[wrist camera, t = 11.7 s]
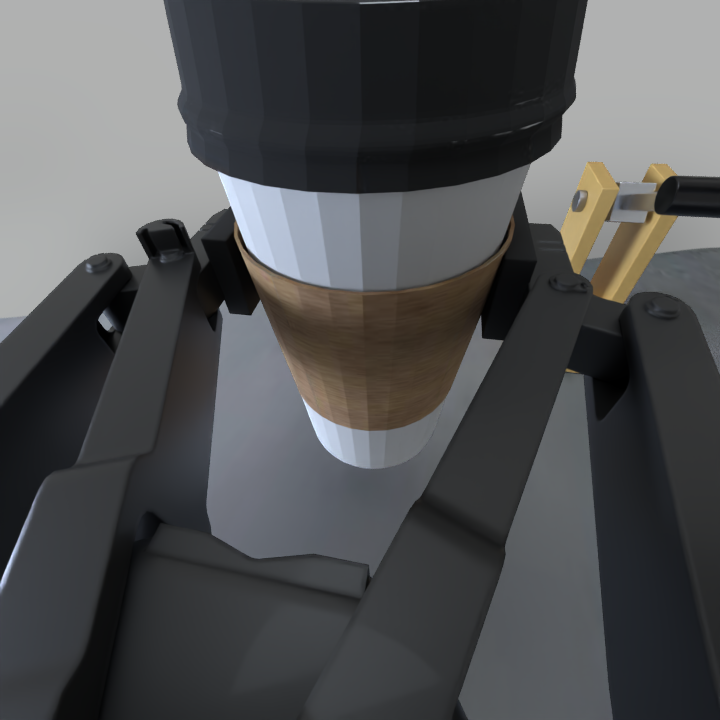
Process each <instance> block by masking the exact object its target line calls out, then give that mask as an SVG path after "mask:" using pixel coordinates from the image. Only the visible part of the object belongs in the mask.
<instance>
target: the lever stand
mask: <svg viewBox="0 0 720 720" xmlns="http://www.w3.org/2000/svg"><path fill="white" fill-rule="evenodd" d="M670 176H678V175H677V174H676V173H675V172H674V171H673V170H672V169H671V168H670V167H669V166H668V165H667V164H651V165H650V167H649V169H648V171H647V173H646V175H645V177H644V179H643V181H642V183H657V186H656V189H655V192H658V190H659V188H660V186H661V185H662V183H663V182H664V181H665V180H666V179H667V178H668V177H670ZM619 190H620V189H619V187H618V186H617V184H616V183H615V181H614V179H613V178H612V176H611V175H610V173H609V172H608V170H607V169H606V167H605V166H604V164H603V163H602V162H587V164H586V167H585V170H584V172H583V175H582V177H581V180H580V182H579V185H578V187H577V190H576V193H575V195H574V198H573V200H572V203H571V206H570V208H569V210H568V213H567V216H566V218H565V221H564V223H563V226H562V229H561V231H560V233H561V236H562V239H563V242H564V243H563V244H564V245H565V247H566V252H567V253H568V256H569V259H570V262H571V265H572V268H573V271H574V273H577V274H580V272H581V270H582V267H583V265H584V263H585V261H586V259H587V257H588V255H589V253H590V251H591V249H592V246H593V244H594V242H595V240H596V238H597V236H598V234H599V232H600V229H601V227H602V225H603V223H604V221H605V219H606V217H607V215H608V213H609V211H610V209H611V206H612V204H613V202H614V200H615V198H616V196H617V194H618V192H619ZM677 217H678V216H670V215H658V214H656V212H648V214H647V217H646V220H645V223H624V222H621V224H620V226H619V228H618V229H617V231H616V233H615V235H614V237H613V239H612V241H611V243H610V245H609V247H608V249H607V251H606V253H605V255H604V257H603V259H602V261H601V263H600V265H599V267H598V268H597V270H596V272H595V274H594V276H593V278H592V280H591V282H590V283H591V284H592V286H593V294H594V295H596V296H598V297H601V298H604V299H607V300H611V301H615V302H618V303H622V304H624V302H625V300H626V299H627V297H628V295H629V294H630V292H631V291H632V289H633V287H634V286H635V284H636V283H637V281H638V279H639V278H640V276H641V275H642V273H643V271H644V270H645V268H646V267H647V265H648V263H649V262H650V260H651V259H652V257H653V255H654V254H655V252H656V251H657V249H658V247H659V246H660V244H661V242H662V241H663V239H664V238H665V236H666V234H667V233H668V231H669V230H670V228H671V226H672V225H673V223H674V222H675V220H676V219H677ZM565 372H573V373H578V372H575V371H572V370H569V369H566V371H565Z"/></svg>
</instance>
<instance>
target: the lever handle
mask: <svg viewBox="0 0 720 720" xmlns="http://www.w3.org/2000/svg"><path fill="white" fill-rule="evenodd" d="M615 183H616V184H617V186H618V187H619V189H620V190H619V192H618V194H617V196H616V198H615V200H614V202H613V204H612V206H611V209H610V211H609V213H608V215H607V217H606V219H605V221H607V222H624V223H645V220H646V217H647V214H648V212H656V214H658V215H670V216H691V217H712V218H720V177H704V176H703V177H702V176H670V177H668V178H667V179H666V180H665V181H664V182H663V183H662V185H661V186H660V188H659V190H658V192H655V189H656V186H657V183H642V182H615Z"/></svg>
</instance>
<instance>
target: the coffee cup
mask: <svg viewBox="0 0 720 720" xmlns="http://www.w3.org/2000/svg"><path fill="white" fill-rule="evenodd" d="M587 1H588V0H164V4H165V9H166V15H167V19H168V24H169V28H170V33H171V38H172V42H173V47H174V52H175V56H176V60H177V66H178V70H179V75H180V80H181V84H182V90H181V93H180V95H179V98H178V104H177V105H178V109H179V111H180V113H181V115H182V118H183V119H184V122H185V123H186V124H187V142H188V144H189V147H190V150H191V153H192V154H193V155H194V156H195V157H196V158H198V159H199V160H200V161H201V162H202V163H203V164H204V165H206V166H208V167H210V168H212V169H214V170H216V171H218V173H219V176H220V178H221V181H222V184H223V186H224V189H225V192H226V194H227V197H228V200H229V202H230V205H231V208H232V210H233V213H234V216H235V218H236V221H235V223H234V238H235V240H236V242H237V245H238V247H239V250H240V252H241V254H242V257H243V259H244V261H245V264H246V266H247V269H248V271H249V273H250V276H251V278H252V280H253V283H254V285H255V288H256V290H257V292H258V295H259V297H260V299H261V302H262V304H263V307H264V309H265V311H266V314H267V316H268V318H269V321H270V323H271V326H272V328H273V330H274V333H275V335H276V337H277V340H278V342H279V345H280V347H281V349H282V352H283V354H284V356H285V359H286V361H287V364H288V366H289V368H290V371H291V373H292V375H293V378H294V380H295V383H296V385H297V387H298V390H299V392H300V394H301V396H302V398H303V401H304V403H305V406H306V409H307V411H308V414H309V417H310V419H311V422H312V425H313V427H314V429H315V432H316V434H317V437H318V439H319V440H320V442H321V443H322V444H323V446H324V447H325V449H327V450H328V451H329V452H330V453H331V454H332V455H333V456H334V457H336V458H338V459H339V460H341V461H343V462H344V463H347V464H350V465H353V466H356V467H361V468H367V469H384V468H388V467H393V466H397V465H399V464H401V463H404V462H406V461H408V460H410V459H411V458H413V457H414V456H415V455H417V454H418V453H419V452H420V451H421V450H422V449H423V448H424V447H425V446H426V445H427V443H428V441H429V439H430V438H431V436H432V434H433V432H434V429H435V426H436V424H437V421H438V418H439V415H440V413H441V410H442V407H443V404H444V402H445V399H446V396H447V394H448V392H449V391H450V389H451V386H452V384H453V381H454V379H455V376H456V374H457V372H458V369H459V367H460V364H461V362H462V359H463V357H464V355H465V352H466V350H467V347H468V345H469V342H470V340H471V338H472V335H473V333H474V330H475V328H476V325H477V323H478V321H479V318H480V316H481V313H482V311H483V308H484V306H485V304H486V301H487V299H488V296H489V294H490V291H491V289H492V286H493V283H494V281H495V278H496V275H497V272H498V269H499V267H500V264H501V261H502V258H503V256H504V253H505V252H506V250H507V249H508V247H509V245H510V243H511V240H512V237H513V232H514V227H515V223H514V218H513V211H514V208H515V205H516V203H517V200H518V197H519V194H520V192H521V189H522V186H523V183H524V181H525V178H526V175H527V172H528V170H529V167H530V164H531V163H532V162H533V161H535V160H537V159H538V158H540V157H541V156H543V155H545V154H546V153H548V152H550V151H551V150H552V149H553V147H554V146H555V145H556V144H557V142H558V141H559V140H560V139H561V132H562V115H563V114H564V113H565V111H566V110H567V109H568V108H569V107H570V106H571V105H572V103H573V102H574V101H575V98H576V84H575V79H574V73H575V68H576V62H577V56H578V50H579V45H580V40H581V34H582V29H583V23H584V18H585V12H586V7H587ZM507 228H508V236H507V240H506V242H505V244H504V245H503V246H502V248H501V249H500V247H501V244H502V241H503V238H504V236H505V233H506V230H507ZM499 249H500V251H499Z"/></svg>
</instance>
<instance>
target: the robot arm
mask: <svg viewBox="0 0 720 720" xmlns="http://www.w3.org/2000/svg"><path fill="white" fill-rule="evenodd" d="M513 218H514V223H515V227H514V232H513V237H512V240H511V243H510V245H509V247H508V249H507V250H506V252H505V253H504V256H503V258H502V261H501V264H500V267H499V269H498V272H497V275H496V278H495V281H494V283H493V286H492V289H491V291H490V294H489V296H488V299H487V301H486V304H485V306H484V308H483V311H482V313H481V322H482V338H485V339H495V340H504V341H503V343H502V345H501V347H500V349H499V351H498V353H497V355H496V357H495V358H494V360H493V362H492V364H491V366H490V368H489V370H488V372H487V374H486V375H485V377H484V379H483V381H482V383H481V385H480V387H479V389H478V391H477V392H476V394H475V396H474V398H473V400H472V402H471V404H470V406H469V408H468V409H467V411H466V413H465V415H464V417H463V419H462V421H461V423H460V425H459V426H458V428H457V430H456V432H455V434H454V436H453V438H452V440H451V442H450V443H449V445H448V447H447V449H446V451H445V453H444V455H443V457H442V458H441V460H440V462H439V464H438V466H437V468H436V470H435V472H434V474H433V475H432V477H431V479H430V481H429V483H428V485H427V487H426V489H425V490H424V492H423V494H422V495H421V497H420V498H419V499H418V500H417V501H415V503H414V504H413V506H412V507H411V508H410V510H409V512H408V514H407V515H406V517H405V519H404V521H403V522H402V524H401V526H400V528H399V530H398V532H397V533H396V535H395V537H394V539H393V541H392V543H391V545H390V546H389V548H388V550H387V552H386V554H385V556H384V558H383V559H382V561H381V563H380V565H379V567H378V569H377V571H376V572H375V574H374V576H373V578H372V577H370V573H369V565H367V564H362V563H357V562H352V561H347V560H342V559H337V558H332V557H327V556H322V555H317V554H307V555H296V556H285V557H274V558H263V559H254V558H251V557H249V556H247V555H246V554H244V553H242V552H240V551H239V550H237V549H235V548H234V547H232V546H230V545H228V544H227V543H225V542H223V541H222V540H220V539H218V538H216V537H215V536H213V535H212V534H211V525H210V522H209V518H208V515H207V509H206V498H207V487H208V476H209V465H210V454H211V443H212V432H213V421H214V410H215V398H216V387H217V376H218V365H219V354H220V343H221V332H222V321H223V318H222V314H221V312H220V310H219V307H220V305H221V304H222V302H223V301H224V300H225V302H226V305H227V307H228V310H229V312H230V313H231V314H241V315H252V313H253V311H254V309H255V308H256V306H257V304H258V303H259V301H260V297H259V295H258V292H257V290H256V288H255V285H254V283H253V280H252V278H251V276H250V273H249V271H248V269H247V266H246V264H245V261H244V259H243V257H242V254H241V252H240V250H239V247H238V245H237V242H236V240H235V238H234V223H235V221H236V218H235V216H234V213H233V210H232V208H231V206H230V207H229V208H228V209H224V210H222V211H220V212H218V213H216V214H215V215H213V216H212V217H211V218H210V219H209V220H208V221H207V222H206V225H203V226H202V227H201V228H200V231H198V232H197V233H196V234H195V235H194V236H193V237H192V238H191V239H190V238H189V236H188V233H187V231H186V228H185V226H184V224H183V222H181V221H180V220H176V219H162V220H157V221H154V222H151V223H148V224H146V225H144V226H142V227H141V228H139V229H138V231H137V232H136V235H137V237H138V239H139V241H140V242H141V244H142V246H143V248H144V250H145V252H146V254H147V256H148V258H149V261H148V264H147V265H141V266H133V267H128V265H127V264H126V262H125V260H124V258H123V257H122V256H121V255H119V254H115V253H105V254H104V253H101V254H98V255H94V256H91V257H90V258H89V259H87V260H84V261H83V262H82V263H81V264H79V265H78V266H77V267H76V268H75V269H74V270H73V271H72V272H71V273H70V274H69V275H68V276H67V277H66V278H65V279H64V280H63V281H62V282H61V283H60V284H59V285H58V286H57V287H56V288H55V289H54V290H53V291H52V292H51V293H50V294H49V295H48V296H47V297H46V298H45V299H44V300H43V301H42V302H41V303H40V304H39V305H38V306H37V307H36V308H35V309H34V310H33V311H32V312H31V313H30V314H29V315H28V316H27V317H26V318H25V319H24V320H23V321H22V322H21V323H20V324H19V325H18V326H17V327H16V328H15V329H14V330H13V331H12V332H11V333H10V334H9V335H8V336H7V337H6V338H5V339H4V340H3V341H2V342H1V343H0V720H468V719H467V717H466V715H465V712H464V710H463V708H462V706H461V704H460V702H459V700H458V697H459V694H460V692H461V689H462V686H463V683H464V680H465V677H466V674H467V671H468V668H469V665H470V662H471V659H472V656H473V653H474V651H475V648H476V645H477V642H478V639H479V636H480V633H481V630H482V627H483V624H484V621H485V618H486V615H487V612H488V610H489V607H490V604H491V601H492V598H493V595H494V592H495V589H496V586H497V583H498V580H499V577H500V574H501V571H502V567H503V564H504V559H505V544H506V540H507V537H508V533H509V531H510V528H511V525H512V522H513V519H514V516H515V513H516V511H517V508H518V505H519V502H520V499H521V496H522V494H523V491H524V488H525V485H526V482H527V479H528V476H529V474H530V471H531V468H532V465H533V462H534V459H535V457H536V454H537V451H538V448H539V445H540V442H541V439H542V437H543V434H544V431H545V428H546V425H547V422H548V420H549V417H550V414H551V411H552V408H553V405H554V402H555V400H556V397H557V394H558V391H559V388H560V385H561V383H562V380H563V377H564V374H565V371H566V369H569V370H572V371H575V372H578V373H581V374H584V385H585V397H586V410H587V422H588V434H589V447H590V459H591V472H592V484H593V497H594V509H595V521H596V534H597V546H598V559H599V571H600V584H601V596H602V609H603V621H604V633H605V646H606V658H607V671H608V683H609V690H610V698H611V706H612V714H613V720H720V374H719V372H718V369H717V367H716V364H715V362H714V359H713V357H712V354H711V352H710V349H709V347H708V344H707V342H706V339H705V337H704V334H703V332H702V329H701V327H700V324H699V322H698V319H697V317H696V314H695V313H694V311H693V310H692V309H691V307H690V306H688V305H687V304H685V303H684V302H683V301H681V300H680V299H678V298H676V297H673V296H671V295H668V294H662V293H658V292H642V293H637V294H635V295H634V296H633V297H631V298H630V300H629V302H628V303H627V305H626V304H622V303H618V302H615V301H611V300H607V299H604V298H601V297H598V296H596V295H594V294H593V286H592V284H591V283H590V282H589V280H587V279H586V278H584V277H583V276H581V275H579V274H577V273H574V271H573V268H572V265H571V262H570V259H569V256H568V253H567V252H566V247H565V245H564V244H563V243H564V242H563V239H562V236H561V233H560V232H559V231H558V230H557V229H556V228H554V227H553V226H552V225H551V224H534V223H528V218H527V214H526V210H525V206H524V201H523V197H522V193H521V192H520V194H519V197H518V200H517V203H516V205H515V208H514V211H513ZM507 236H508V228H507V230H506V233H505V236H504V238H503V241H502V244H501V247H500V249H501V248H502V246H503V245H504V244H505V242H506V240H507ZM500 249H499V251H500ZM102 313H104V314H105V316H106V317H107V318H108V320H109V321H110V323H111V324H112V327H111V328H110V330H108V331H107V330H105V329H104V328H103V326H102V325H101V324H100V322H99V321H98V319H99V317H100V315H101V314H102Z"/></svg>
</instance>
